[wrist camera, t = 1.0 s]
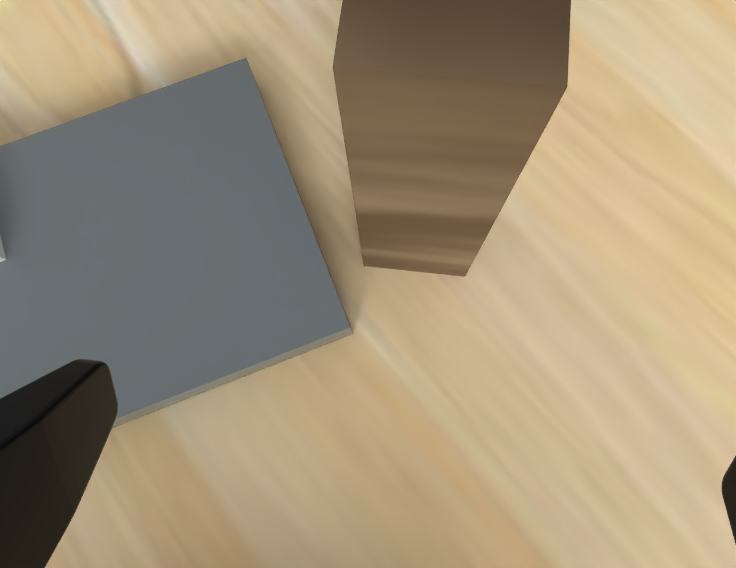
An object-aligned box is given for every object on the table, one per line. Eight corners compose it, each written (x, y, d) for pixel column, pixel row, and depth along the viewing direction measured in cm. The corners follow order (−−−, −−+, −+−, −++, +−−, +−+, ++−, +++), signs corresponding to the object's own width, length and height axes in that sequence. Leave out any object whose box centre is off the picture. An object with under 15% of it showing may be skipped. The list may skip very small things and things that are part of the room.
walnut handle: (465, 276, 22) (567, 86, 9) (364, 265, 22) (332, 67, 10) (472, 182, 23) (575, -106, 10) (375, 173, 23) (360, -119, 11)
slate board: (352, 333, 22) (350, 327, 20) (-49, 490, 21) (-82, 496, 19) (254, 79, 24) (246, 57, 23) (-103, 209, 24) (-136, 195, 22)
